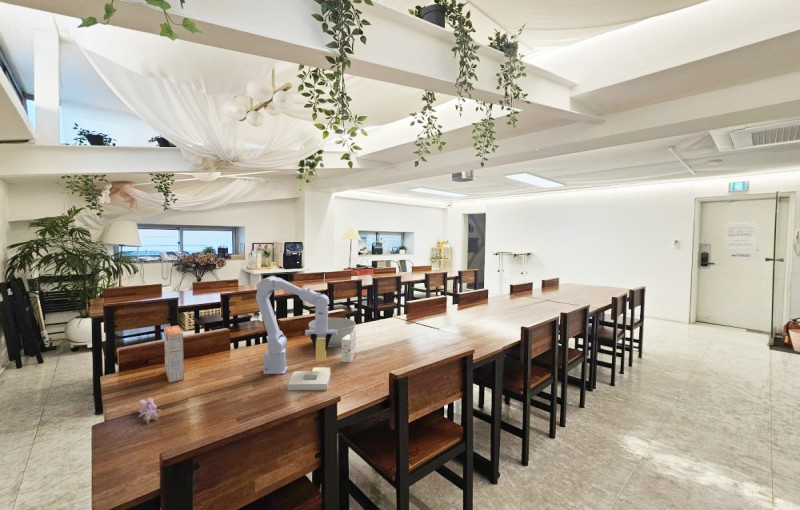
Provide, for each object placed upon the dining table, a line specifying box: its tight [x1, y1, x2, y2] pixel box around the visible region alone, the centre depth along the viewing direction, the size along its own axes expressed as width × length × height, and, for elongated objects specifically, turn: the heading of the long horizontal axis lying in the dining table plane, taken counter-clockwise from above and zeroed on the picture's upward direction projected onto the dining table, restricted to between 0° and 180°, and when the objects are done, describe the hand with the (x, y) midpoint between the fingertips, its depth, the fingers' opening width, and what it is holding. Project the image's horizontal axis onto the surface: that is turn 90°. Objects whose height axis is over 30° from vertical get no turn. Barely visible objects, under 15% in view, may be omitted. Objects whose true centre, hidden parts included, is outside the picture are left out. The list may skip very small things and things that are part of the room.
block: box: [315, 338, 327, 361], centre depth 160 cm, size 4×4×9 cm
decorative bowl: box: [307, 317, 356, 348], centre depth 201 cm, size 27×27×12 cm
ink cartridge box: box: [341, 329, 357, 363], centre depth 177 cm, size 9×5×15 cm, turn 168°
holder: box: [287, 370, 332, 391], centre depth 149 cm, size 16×13×2 cm
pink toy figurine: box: [138, 397, 162, 425], centre depth 121 cm, size 6×6×15 cm
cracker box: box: [163, 325, 185, 384], centre depth 151 cm, size 14×6×21 cm, turn 39°
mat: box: [311, 366, 332, 371], centre depth 161 cm, size 8×8×1 cm
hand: (321, 349), depth 161 cm, fingers closed on block, 4 cm apart
